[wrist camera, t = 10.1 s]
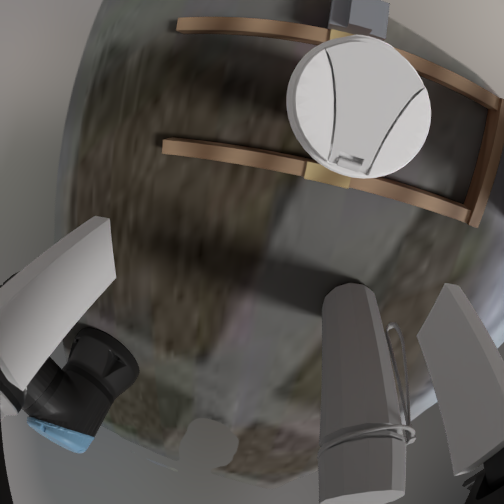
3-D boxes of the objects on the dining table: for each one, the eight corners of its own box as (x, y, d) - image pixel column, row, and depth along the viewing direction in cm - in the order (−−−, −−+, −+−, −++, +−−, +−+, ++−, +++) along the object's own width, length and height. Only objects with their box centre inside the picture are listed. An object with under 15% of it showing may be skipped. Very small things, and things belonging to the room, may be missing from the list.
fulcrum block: (326, 33, 22) (330, 18, 17) (331, 1, 20) (335, -18, 15) (375, 46, 21) (389, 35, 16) (379, 14, 19) (393, -2, 14)
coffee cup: (364, 156, 27) (411, 205, 14) (286, 132, 27) (267, 158, 15) (386, 82, 23) (454, 68, 10) (306, 55, 23) (305, 9, 10)
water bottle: (322, 327, 38) (313, 511, 16) (319, 279, 35) (311, 492, 13) (387, 321, 36) (417, 500, 14) (392, 272, 33) (449, 473, 11)
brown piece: (170, 151, 30) (160, 155, 28) (185, 21, 23) (176, 15, 21) (468, 220, 27) (477, 228, 25) (499, 102, 20) (511, 103, 18)
